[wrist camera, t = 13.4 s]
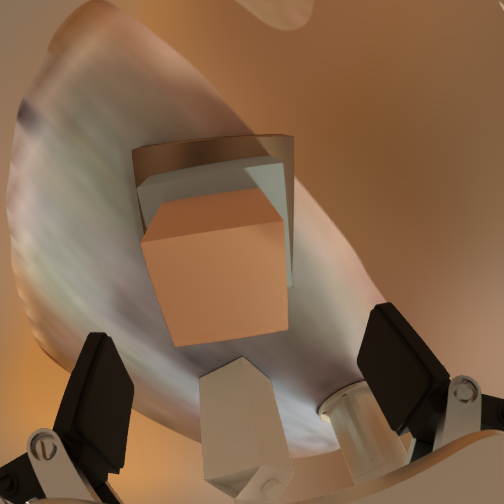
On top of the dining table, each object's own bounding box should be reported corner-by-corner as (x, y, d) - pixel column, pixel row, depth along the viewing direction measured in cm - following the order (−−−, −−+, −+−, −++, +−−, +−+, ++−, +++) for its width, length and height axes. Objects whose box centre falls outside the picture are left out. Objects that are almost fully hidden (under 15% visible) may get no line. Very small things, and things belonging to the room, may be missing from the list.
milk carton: (230, 398, 37) (247, 516, 20) (198, 377, 34) (206, 512, 17) (270, 379, 36) (303, 502, 19) (242, 354, 33) (270, 500, 16)
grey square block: (269, 155, 20) (282, 162, 16) (279, 261, 24) (292, 286, 20) (149, 176, 19) (136, 188, 16) (176, 279, 23) (171, 307, 20)
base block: (280, 134, 23) (293, 136, 19) (281, 255, 28) (291, 276, 25) (143, 145, 22) (131, 150, 18) (162, 267, 27) (156, 289, 23)
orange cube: (259, 187, 17) (284, 220, 11) (267, 272, 19) (288, 329, 14) (161, 202, 16) (140, 243, 11) (181, 285, 19) (174, 346, 14)
